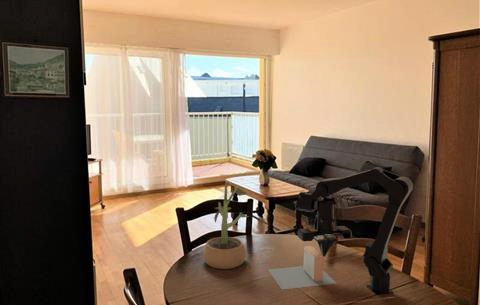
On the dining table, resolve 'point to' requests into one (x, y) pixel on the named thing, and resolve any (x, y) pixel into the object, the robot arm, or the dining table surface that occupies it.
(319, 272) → the tile
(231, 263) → the potted plant
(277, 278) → the mat
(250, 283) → the dining table surface
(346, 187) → the robot arm
